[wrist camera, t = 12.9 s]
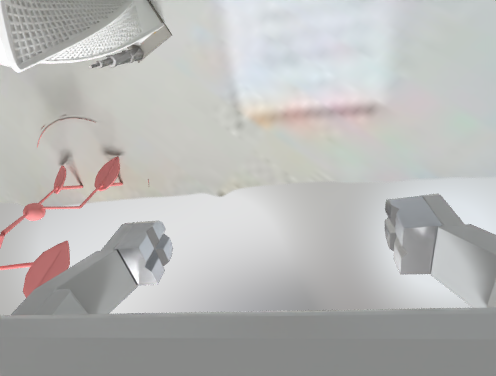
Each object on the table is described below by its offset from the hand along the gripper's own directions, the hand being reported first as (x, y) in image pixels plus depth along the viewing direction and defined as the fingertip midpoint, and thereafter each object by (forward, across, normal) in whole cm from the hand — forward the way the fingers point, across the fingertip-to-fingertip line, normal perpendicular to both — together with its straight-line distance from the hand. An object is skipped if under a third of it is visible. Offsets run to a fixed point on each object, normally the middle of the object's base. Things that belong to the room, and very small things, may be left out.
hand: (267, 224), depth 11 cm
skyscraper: (+38, +20, -10) cm, 44 cm away
